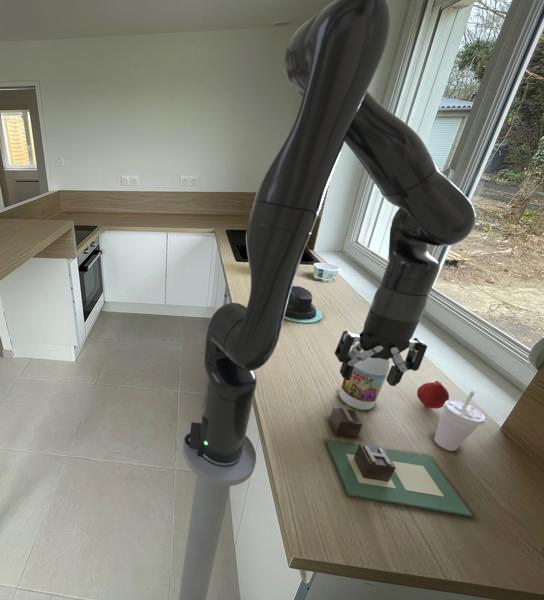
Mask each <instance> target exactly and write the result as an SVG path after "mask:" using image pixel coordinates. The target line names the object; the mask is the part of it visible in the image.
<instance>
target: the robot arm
mask: <svg viewBox="0 0 544 600" xmlns="http://www.w3.org/2000/svg"><path fill="white" fill-rule="evenodd" d="M391 20H392V19H391V9H390V5H389V3H388V0H334V1H332V2H330V3H329V4H327V5H326V6H325V7H324V8H322V9H321V10H319V11H318V12H317V13H316V14H314V15H313V16H312V17H310V18H309V19H308V20H306V21H305V22H304V23H302V25H301V26H300V27H299V28H298V29H296V31H295V32H294V33H293V34H292V36H291V38H290V40H289V41H288V43H287V46H286V49H285V53H284V58H283V59H284V60H283V61H284V62H283V65H284V71H285V76H286V79H287V80H288V83H289V84H290V85H291V87H292V88H293V90H294V91H296V93H297V94H298V95H299V96H300V97H301V102H300V105H299V108H298V112H297V114H296V118H295V120H294V123H293V126H292V127H291V129H290V132H289V133H288V135H287V137H286V139H285V141H284V142H283V144H282V145H281V148H279V151H278V152H277V154H276V155H275V157H274V158H273V160H272V162H271V164H270V165H269V167H268V169H267V170H266V172H265V173H264V175H263V178H262V179H261V181H260V183H259V185H258V188H257V191H256V192H255V193H256V194H255V196H254V200H253V203H252V207H251V210H250V214H249V217H248V221H247V227H246V232H245V245H246V247H245V248H246V254H247V255H246V256H247V261H248V269H249V277H250V291H249V296H248V297H249V298H248V302H247V306H245V305H243V304H242V303H239V302H228V303H225V304H223V305H222V306H220V307H219V308H218V309H216V311H215V312H214V313H213V314H212V316H211V318H210V320H209V322H208V324H207V329H206V336H205V347H204V359H203V363H204V371H205V374H206V380H205V388H204V394H203V400H202V402H201V407H200V415H199V421H198V422H194V421H191V422H190V428H191V430H190V433H189V434H187V435H186V434H185V435H186V436H185V435H184V437H185V438H184V437H183V441H184V440H185V443H186V444H187V445H188V446H189V448H191V449H197V456H199V457H203V458H204V459H205V460H206V461H208V462H209V463H211V464H213V465H216V466H220V467H229V466H233V465H235V464H236V463H237V462H238V461H239V460H240V458H241V455H242V449H243V444H244V439H245V435H246V434H247V431H248V430H247V429H248V425H249V420H250V416H251V411H252V407H253V402H254V398H255V394H256V390H257V384H258V381H257V380H258V379H257V375H256V372H255V371H256V370H259V369H260V368H262V367H264V365H265V364H266V363H267V362H268V361H269V360H270V358H271V357H272V356H273V354H274V351H275V350H276V348H277V345H278V342H279V339H280V336H281V331H282V328H283V323H284V320H285V319H284V315H285V311H286V307H287V303H288V299H289V295H290V292H291V289H292V286H294V282H295V279H296V276H297V273H298V270H299V267H300V263H301V261H302V258H303V255H304V253H305V249H306V247H307V245H308V242H309V240H310V237H311V235H312V232H313V229H314V227H315V224H316V221H317V219H318V216H319V213H320V210H321V207H322V203H323V201H324V197H325V196H326V195H325V194H326V191H327V189H328V186H329V183H330V181H331V178H332V175H333V173H334V170H335V167H336V165H337V163H338V160H339V158H340V154H341V151H342V149H343V147H344V143H345V144H346V145H347V146H348V148H349V149H350V150H351V151H352V153H353V154H354V156H356V158H357V159H358V160H359V162H360V163H361V165H362V167H363V168H364V169H365V171H366V172H367V173H368V176H369V177H370V178H371V180H372V182H373V183H374V185H375V186H376V188H377V189H378V191H379V192H380V194H381V196H382V197H383V198H384V199H385V200H386V202H388V203H389V204H391V205H393V206H395V207H398V209H397V210H396V211H395V213H394V215H393V217H392V219H391V223H390V228H389V243H388V263H387V266H386V268H385V270H384V273H383V276H382V278H381V282H380V285H379V286H378V288H377V289H376V291H375V294H374V296H373V299H372V301H371V304H370V306H369V310H368V313H367V315H366V318H365V321H364V324H363V329H362V331H361V332H360V333H359V334H357V333H351V332H350V330H344V331H342V334H341V336H340V339H339V342H338V343H337V345H336V349H335V351H334V356H336V358H337V360H338V361H339V363H341V366H340V369H339V374H340V376H341V377H342V378H343V380H349V379H350V377H351V374H352V371H353V369H354V366H353V365H354V364H356V363H357V362H359V361H364V360H365V359H367V358H369V357H370V358H381V359H385V360H388V359H389V360H390V359H391V361H392V363H393V364H392V365H391V367H390V368H389V370H388V373H387V376H386V378H385V380H386V382H387V383H388V385H389V386H392V387H396V386H397V385H398V384H400V383H401V381H402V378H403V376H404V374H405V373H406V372H407V371H413V372H416V371H418V370H419V369H420V367H421V364H422V362H423V359H424V356H425V354H426V352H427V349H428V345H427V344H426V343H425V342H423V340H421V339H420V338H419V337H414V338H413V336H414V334H415V332H416V329H417V327H418V325H419V323H420V320H421V318H422V316H423V314H424V311H425V309H426V306H427V303H428V300H429V295H430V293H431V290H432V288H433V287H434V284H435V282H436V279H437V277H438V275H439V271H440V263H439V261H438V260H437V259H436V258H434V257H433V256H431V255H430V253H429V251H428V245H430V246H433V247H434V246H435V247H450V246H453V245H457V244H458V243H460V242H462V241H464V240H465V239H466V238H467V237H469V236H470V234H471V232H472V231H473V229H474V227H475V224H476V211H475V208H474V206H473V203H472V202H471V201H470V200H469V199H468V197H467V196H466V194H464V193H463V192H462V191H461V190H460V189H459V187H457V186H456V185H455V184H454V183H453V182H452V181H450V179H448V178H447V177H446V176H444V175H443V174H442V172H441V171H439V169H438V167H437V165H436V163H435V161H434V159H433V157H432V155H431V153H430V152H429V150H428V148H427V146H426V144H425V143H424V141H423V140H422V138H421V137H420V136H419V134H418V133H417V132H416V131H415V130H414V129H413V128H412V127H411V126H410V125H408V124H407V123H406V122H404V121H403V120H402V119H401V118H400V117H398V116H397V115H395V114H394V113H392V112H391V111H390V110H388V109H387V108H386V107H384V106H383V105H382V104H381V103H380V102H379V101H378V100H376V98H375V97H374V96H373V95H372V94H371V93H370V92H369V91H368V90H369V88H370V85H371V83H372V81H373V79H374V77H375V75H376V72H377V70H378V68H379V66H380V63H381V61H382V59H383V56H384V54H385V52H386V48H387V45H388V41H389V37H390V30H391ZM412 338H413V339H412ZM357 342H358V343H357ZM356 343H357V344H356ZM352 346H353V347H352ZM362 349H363V350H364V352H363V353H360V351H361V350H362ZM407 349H408V351H407V354H406V357H405V360H404V358H403V357H402V354H401V353H402V352H405V350H407ZM246 436H247V435H246ZM189 438H190V442H189V440H188V439H189Z"/></svg>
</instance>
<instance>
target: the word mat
mask: <svg viewBox="0 0 544 600" xmlns="http://www.w3.org/2000/svg"><path fill="white" fill-rule="evenodd" d="M326 445H327V448H328V449H329V452H330V454H331V455H330V456H331V457H332V459H333V462H334V464H335V467H336V469H337V471H338V474H339V477H340V478H341V481H342V484H343V486H344V489H345V491H346V493H347V496H349V497H355V498H360V499H367V500H372V501H378V502H382V503H383V502H384V503H389V504H394V505H401V506H406V507H413V508H419V509H423V510H430V511H435V512H441V513H447V514H451V515H452V514H453V515H459V516H463V517H470V518H472V517H473V514H472V512H471V511H470V509H469V508H468V507H467V506H466V505H465V503H464V502H463V500H462V499H461V497H460V496H459V495H458V493H457V492H456V491H455V489H454V488H453V487H452V485H451V484H450V482H449V481H448V479H446V477H445V475H444V474H443V473H442V472H441V470H440V468H438V466H437V465H436V463H435V462H434V460H433V459H432V458H431V457H430V456H426V455H421V454H419V455H418V454H414V453H407V452H399V451H393V450H387V449H385V451H386V452H387V454H388V456H389V457H390V459H391V461H392V462H393V464H394V466H395V467H396V468H395V470H394V472H393V474H392V476H391V478H390V480H389V482H386V481H380V480H374V479H367V478H363V476H362V474H361V472H360V470H359V468H358V466H357V464H356V462H355V460H354V456H355V454H356V451H357V449H358V447H359V445H355V444H348V443H342V442H341V443H340V442H336V441H335V442H334V441H326Z"/></svg>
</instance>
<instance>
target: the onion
mask: <svg viewBox="0 0 544 600" xmlns="http://www.w3.org/2000/svg"><path fill="white" fill-rule="evenodd" d="M448 391H449V390H447V388H446V387H445V386H444V385H443V384H442V382H441V381H440V380H435V381H434V382H433V381H432V382H425V383H423V384H421V385H420V386H419V387H418V388H417V390H416V396H417V398H418V400H419V401H420V403H421V404H422V405H423V406H424V407H425V408H426V409H441V408H443V405H444V404H445V402H446V401H447V400H450V394H449V392H448Z"/></svg>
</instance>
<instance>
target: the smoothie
mask: <svg viewBox="0 0 544 600" xmlns="http://www.w3.org/2000/svg"><path fill="white" fill-rule="evenodd" d="M475 393H476V392H475V391H473V390H471V391H470V393H469V394H468V396H467V398H466V399H465V401H461V400H456V399H449V400H447V401H446V402H445V404H444V405H443V407H442V408H443V410H442V414H441V417H440V420H439V424H438V426H437V429H436V432H435V436H434V438H433V439H434V442H435V443H436V444H437V446H439V447H441V448H442V449H444V450H447V451H450V452H455V451H456V450H457V449H458V448H459V447H460V446H461V445H462V444H463V443H464V442H465V441H466V440H467V439H468V437H469V436H470V435H472V434H473V432H474V431H476V429H477V428H478V427H479V426H482V425H485V421H486V416H485V414H484V413H483V412H482V411H481V410H479V409H478V408H477V407H475V406H473V405H471V404H470V402H471V401H472V398H473V397H474V395H475Z"/></svg>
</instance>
